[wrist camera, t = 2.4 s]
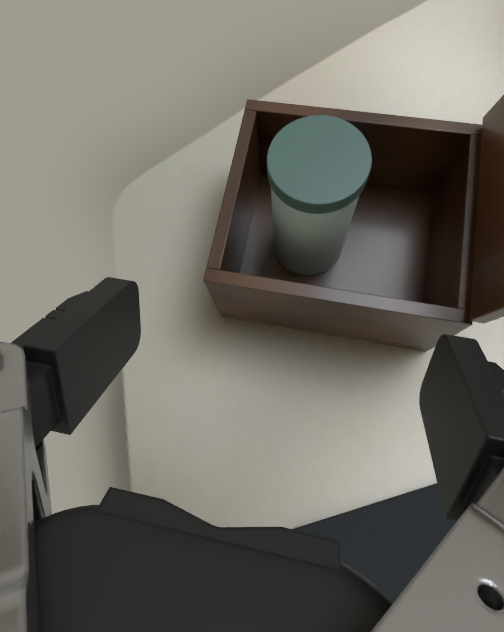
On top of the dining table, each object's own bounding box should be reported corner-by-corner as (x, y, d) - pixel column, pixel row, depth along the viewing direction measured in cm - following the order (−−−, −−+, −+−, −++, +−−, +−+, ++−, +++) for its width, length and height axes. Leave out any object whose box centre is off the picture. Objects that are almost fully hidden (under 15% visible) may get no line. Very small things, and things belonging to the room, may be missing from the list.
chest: (221, 316, 31) (203, 280, 24) (254, 168, 34) (247, 99, 27) (426, 351, 29) (472, 325, 22) (441, 192, 32) (485, 124, 25)
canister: (284, 287, 30) (285, 217, 21) (262, 224, 32) (254, 131, 22) (355, 265, 30) (388, 185, 21) (329, 203, 32) (350, 102, 22)
